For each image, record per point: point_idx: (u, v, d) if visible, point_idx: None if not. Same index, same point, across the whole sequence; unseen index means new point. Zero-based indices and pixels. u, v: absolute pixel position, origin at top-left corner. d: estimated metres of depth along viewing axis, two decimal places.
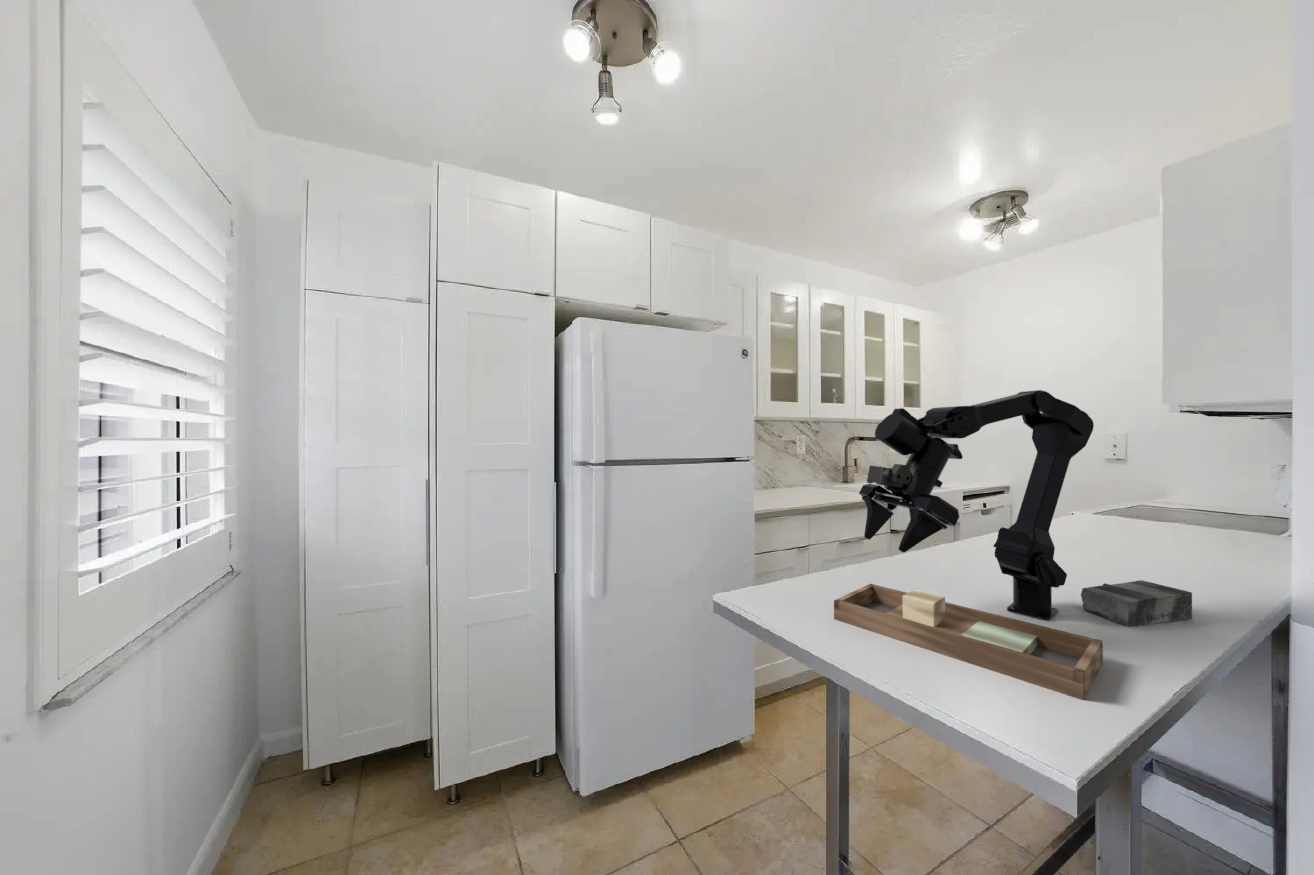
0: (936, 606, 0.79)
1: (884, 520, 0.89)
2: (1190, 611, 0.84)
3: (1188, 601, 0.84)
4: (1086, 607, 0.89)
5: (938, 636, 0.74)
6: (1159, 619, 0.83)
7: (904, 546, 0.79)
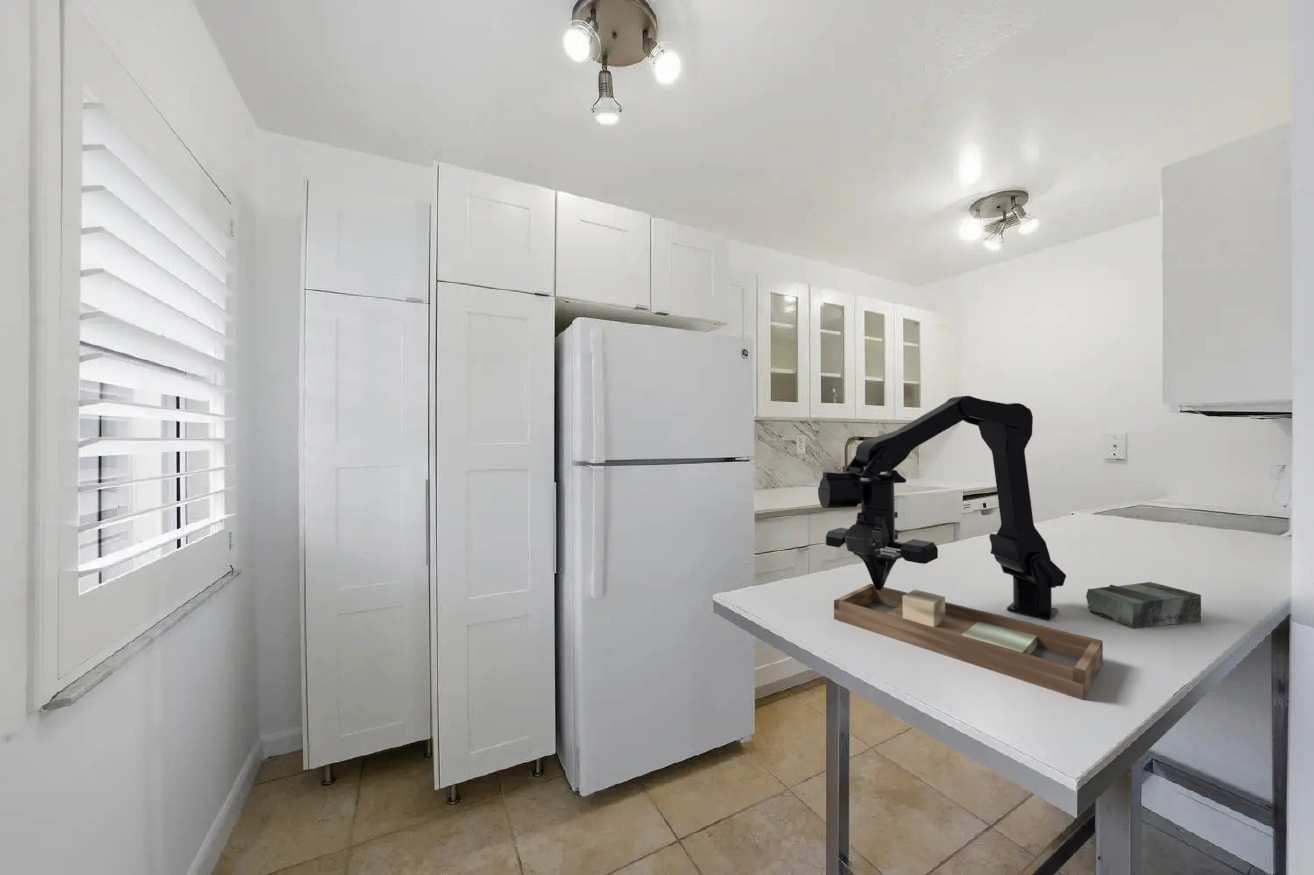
0: (936, 606, 0.79)
1: None
2: (1199, 613, 0.83)
3: (1197, 603, 0.83)
4: (1091, 608, 0.88)
5: (938, 636, 0.74)
6: (1166, 621, 0.82)
7: (881, 585, 0.88)
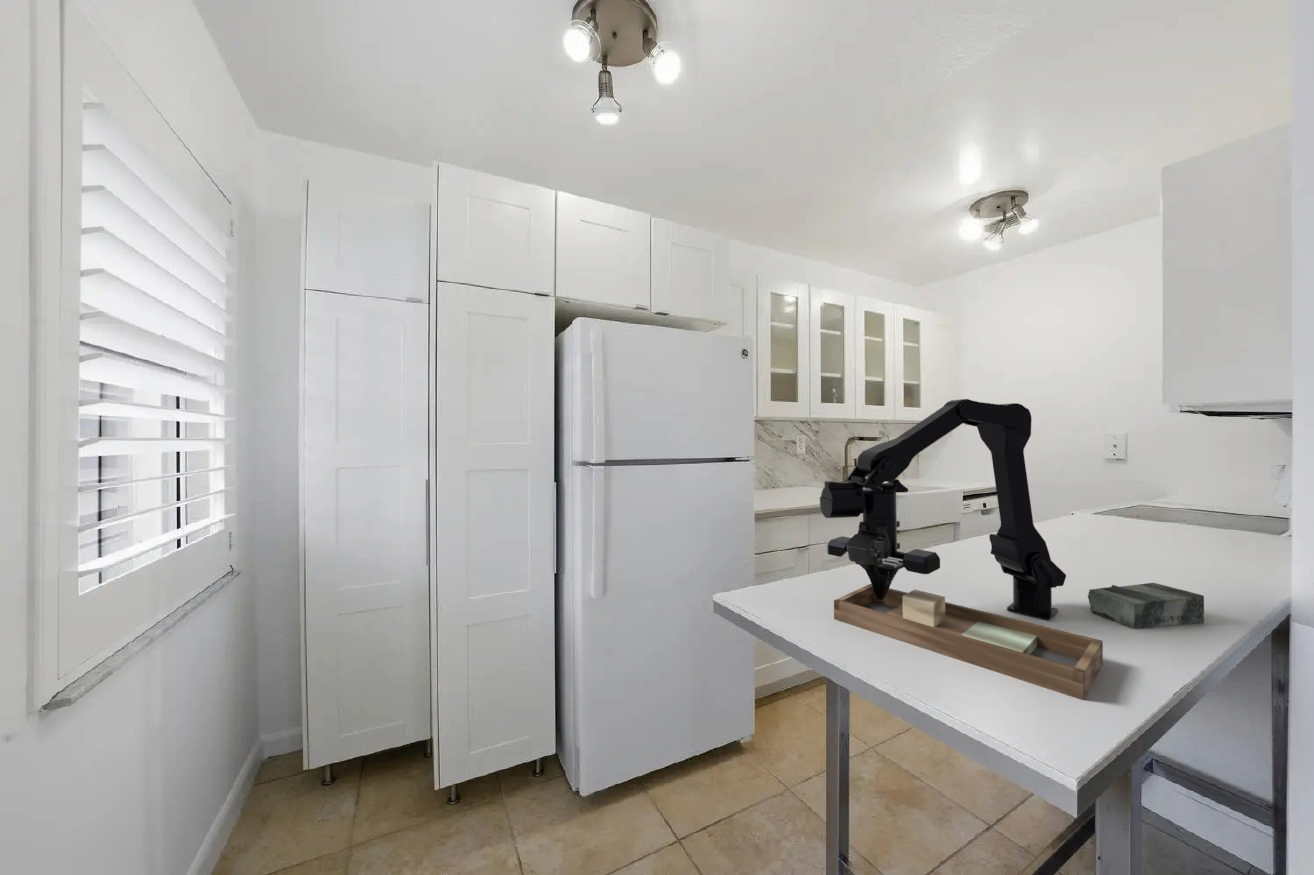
0: (936, 606, 0.79)
1: None
2: (1202, 614, 0.83)
3: (1200, 604, 0.83)
4: (1093, 609, 0.88)
5: (938, 636, 0.74)
6: (1168, 622, 0.82)
7: (883, 595, 0.88)
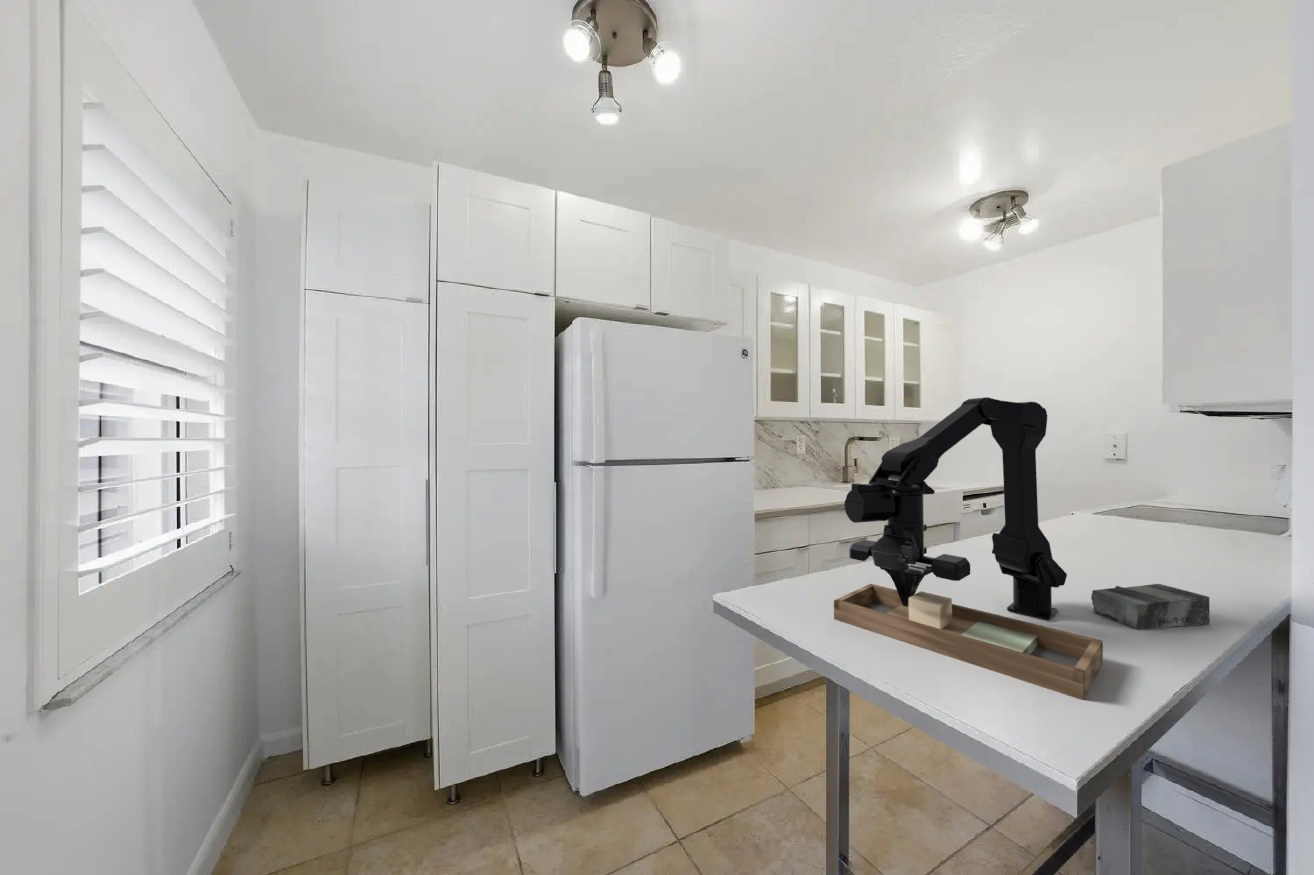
0: (942, 608, 0.79)
1: None
2: (1207, 616, 0.82)
3: (1205, 606, 0.82)
4: (1096, 609, 0.87)
5: (938, 636, 0.74)
6: (1172, 623, 0.81)
7: None
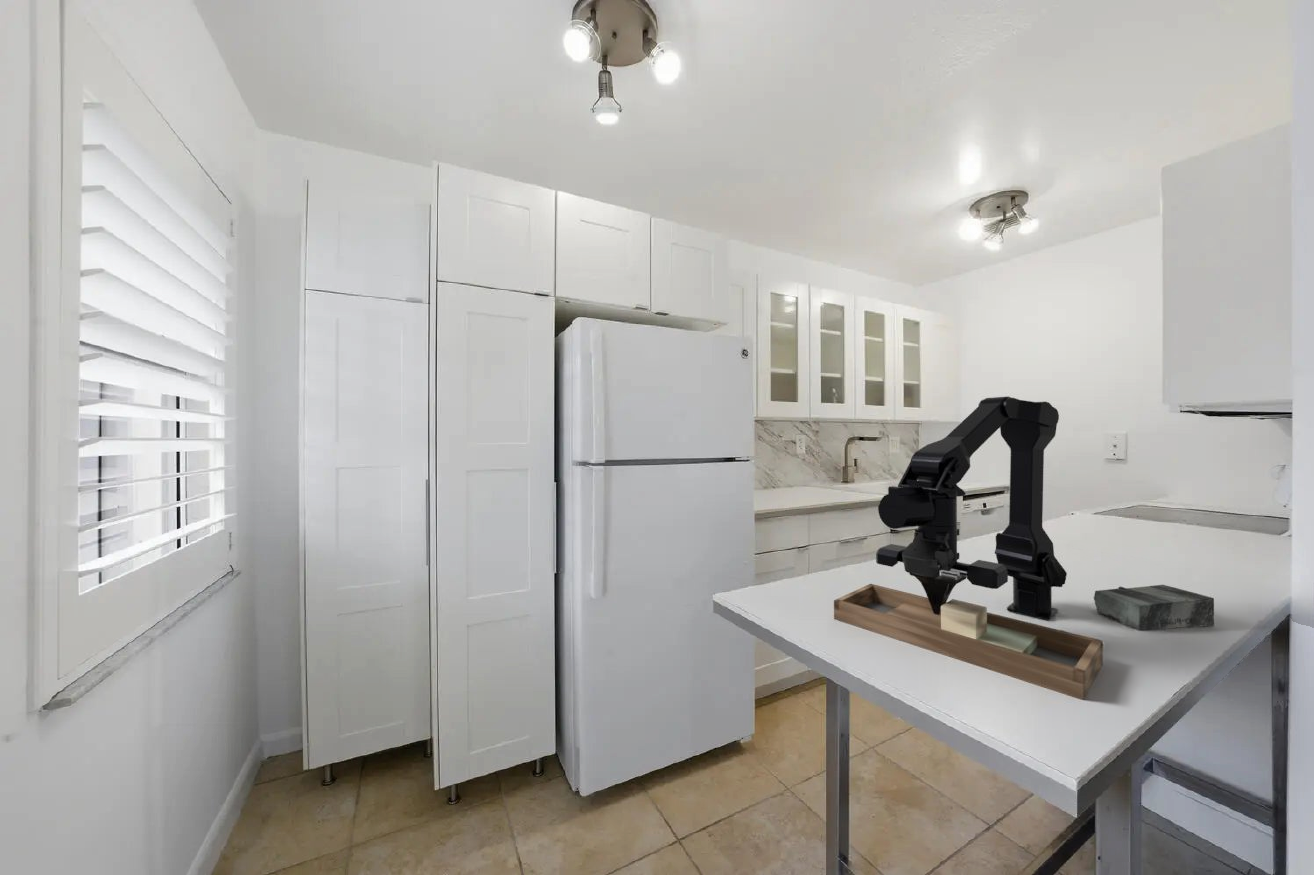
0: (978, 617, 0.74)
1: None
2: (1212, 617, 0.81)
3: (1209, 607, 0.81)
4: (1099, 610, 0.87)
5: (938, 636, 0.74)
6: (1175, 624, 0.81)
7: (940, 609, 0.80)
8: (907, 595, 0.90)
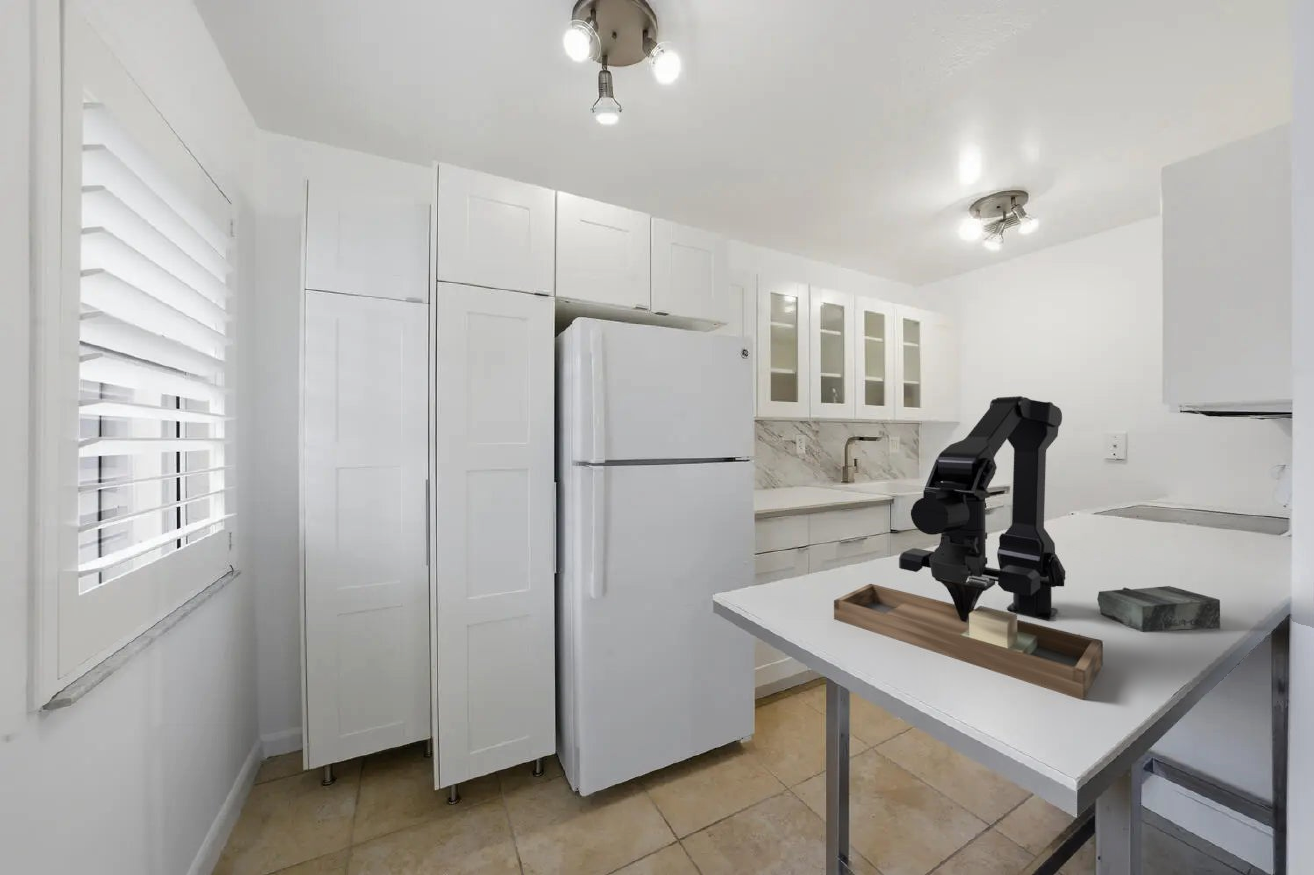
0: (1009, 625, 0.71)
1: None
2: (1218, 619, 0.81)
3: (1215, 608, 0.81)
4: (1102, 611, 0.87)
5: (938, 636, 0.74)
6: (1180, 625, 0.80)
7: (968, 616, 0.77)
8: (907, 595, 0.90)
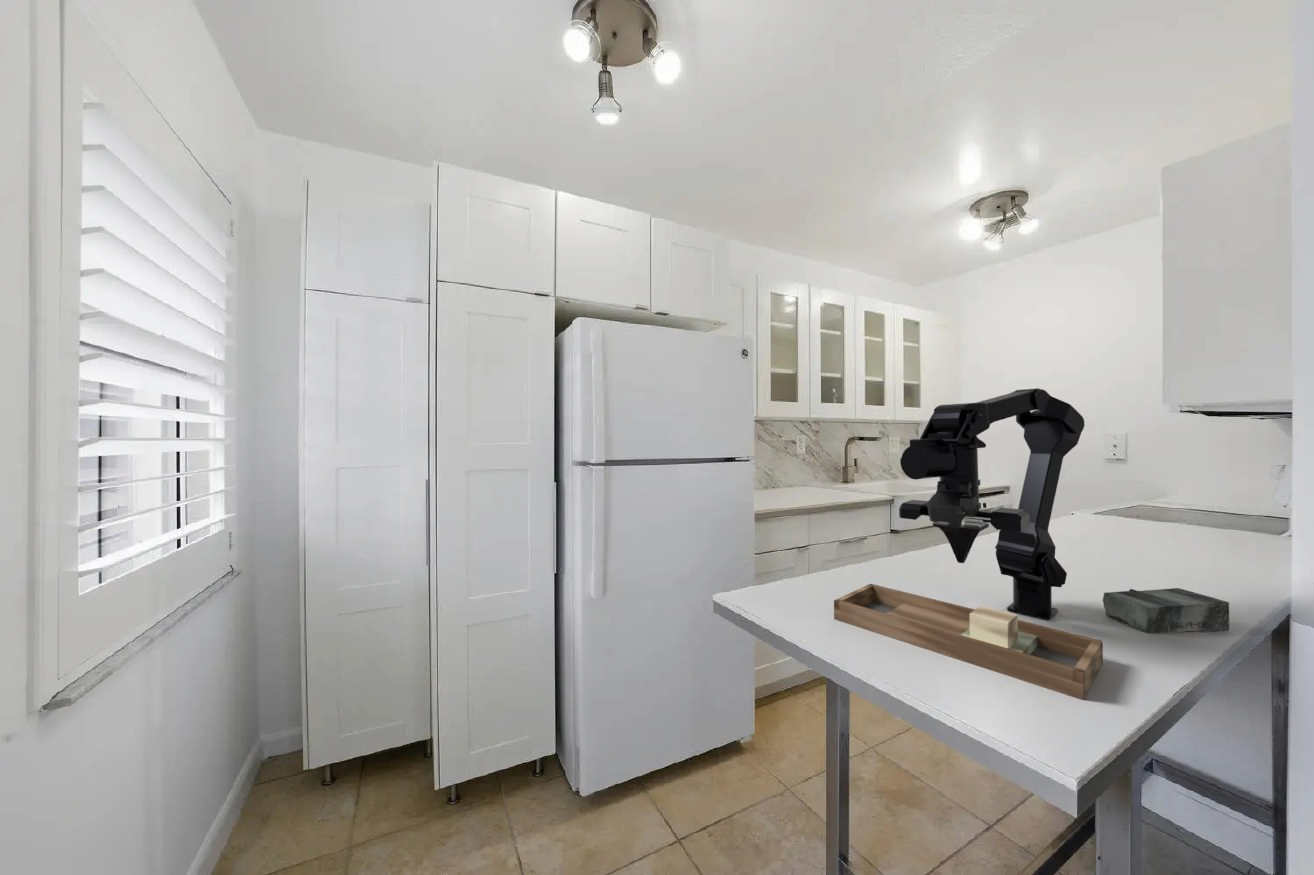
0: (1009, 625, 0.71)
1: (961, 533, 0.85)
2: (1227, 622, 0.79)
3: (1224, 611, 0.79)
4: (1107, 612, 0.86)
5: (938, 636, 0.74)
6: (1186, 628, 0.79)
7: (965, 558, 0.83)
8: (907, 595, 0.90)
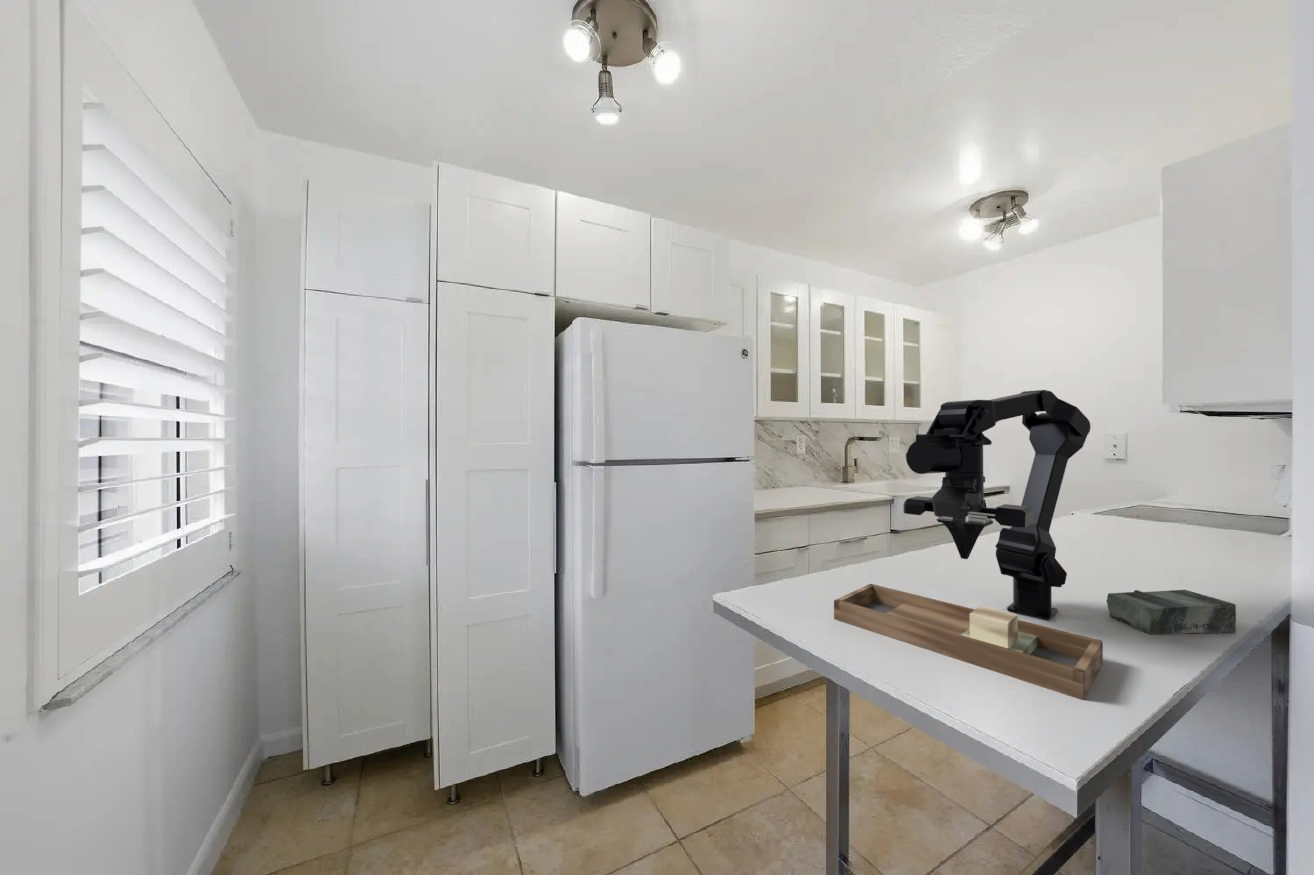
0: (1009, 625, 0.71)
1: (965, 530, 0.85)
2: (1233, 624, 0.79)
3: (1230, 613, 0.79)
4: (1111, 613, 0.86)
5: (938, 636, 0.74)
6: (1191, 629, 0.79)
7: (968, 554, 0.83)
8: (907, 595, 0.90)
